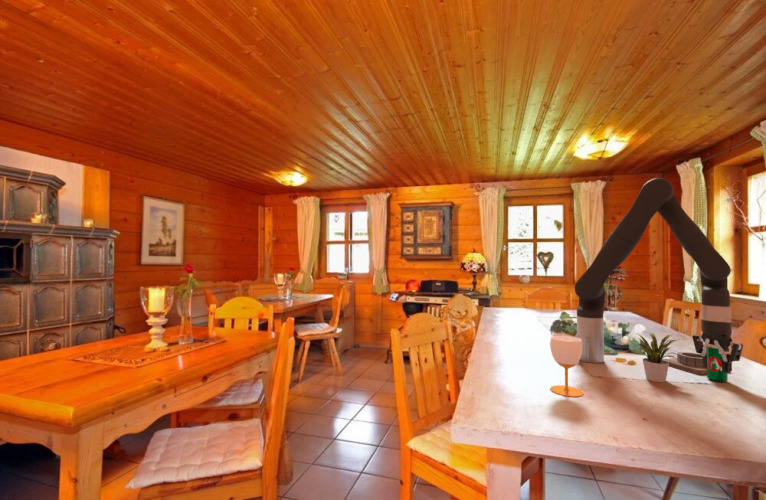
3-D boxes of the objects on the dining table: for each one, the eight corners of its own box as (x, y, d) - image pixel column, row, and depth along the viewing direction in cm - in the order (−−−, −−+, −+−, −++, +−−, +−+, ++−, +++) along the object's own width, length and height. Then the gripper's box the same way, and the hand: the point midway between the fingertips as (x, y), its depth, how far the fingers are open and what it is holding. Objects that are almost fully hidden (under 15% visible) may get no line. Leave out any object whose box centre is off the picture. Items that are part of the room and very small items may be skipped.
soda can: (719, 378, 121) (718, 342, 121) (732, 383, 116) (731, 346, 116) (702, 377, 121) (702, 342, 122) (715, 382, 116) (714, 345, 117)
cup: (580, 388, 112) (579, 336, 112) (586, 398, 103) (585, 342, 103) (548, 384, 115) (548, 334, 115) (552, 394, 106) (551, 340, 106)
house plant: (690, 379, 119) (689, 330, 120) (687, 391, 109) (686, 337, 110) (637, 370, 129) (637, 325, 129) (631, 380, 119) (630, 330, 119)
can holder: (698, 374, 125) (697, 361, 125) (659, 363, 138) (659, 351, 138) (729, 372, 127) (729, 359, 127) (689, 361, 141) (689, 349, 141)
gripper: (684, 316, 125) (685, 364, 125) (731, 323, 111) (733, 378, 111) (702, 315, 127) (703, 363, 126) (750, 322, 113) (751, 376, 112)
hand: (717, 370), depth 119 cm, fingers closed on soda can, 5 cm apart
